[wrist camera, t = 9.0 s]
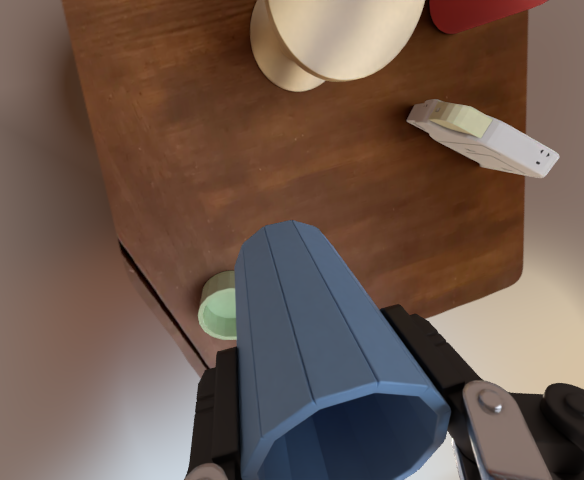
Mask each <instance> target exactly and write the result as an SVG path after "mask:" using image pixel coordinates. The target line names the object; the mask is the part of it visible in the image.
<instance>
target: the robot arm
mask: <svg viewBox="0 0 584 480" xmlns="http://www.w3.org/2000/svg"><path fill="white" fill-rule="evenodd" d="M380 311H381V313H382V314H383V316H384V317H385V318H386V320H387V321H388V322H389V324H390V325H391V327H392V328H393V329H394V331H395V332H396V333H397V335H398V336H399V338H400V339H401V340H402V342H403V343H404V344H405V346H406V347H407V349H408V350H409V351H410V353H411V354H412V355H413V357H414V358H415V359H416V361H417V362H418V364H419V365H420V366H421V368H422V369H423V370H424V372H425V373H426V375H427V376H428V377H429V379H430V380H431V381H432V383H433V384H434V386H435V387H436V388H437V390H438V391H439V392H440V394H441V395H442V396H443V398H444V399H445V401H446V402H447V403H448V405H449V406H450V408H451V415H450V419H449V424H448V429H447V431H448V432H449V434H450V435H451V437H452V447H453V451H454V456H455V460H456V464H457V469H458V473H459V477H460V480H584V389H581V388H579V387H576V386H573V385H569V384H564V383H556V384H551V385H549V386H548V387H547V389H546V390H545V392H544V394H522V393H510V392H507V391H506V390H504V389H503V388H501V387H500V386H498V385H496V384H493V383H491V382H488V381H484V380H482V379H481V378H480V377H479V376H478V375H477V374H476V373H475V372H474V371H473V369H472V368H471V367H470V366H469V365H468V364H467V363H466V362H465V361H464V360H463V359H462V357H461V356H460V355H459V354H458V353H457V352H456V351H455V350H454V349H453V348H452V347H451V345H450V344H449V343H447V342H446V340H445V339H444V338H443V337H442V336H441V335H440V334H439V333H438V331H437V330H436V329H435V328H434V327H433V326H432V325H431V324H430V322H429V321H427V320H425V319H424V318H422V317H420V316H419V315H417V314H412V315H409V314H408V313H407V312H406V311H405V310H404V308H403V307H402V306H401V305H399V304H397V305H393V306H389V307H385V308H382V309H380ZM195 412H196V414H195V418H194V427H193V436H192V445H191V454H190V462H189V468H188V471H187V474H186V477H185V479H184V480H242V478H241V462H240V459H241V452H240V420H239V389H238V358H237V347H233V348H229V349H225V350H222V351H218V352H217V355H216V367H215V368H211V369H208V370H205V372H204V374H203V376H202V378H201V380H200V382H199V384H198V392H197V402H196V409H195Z"/></svg>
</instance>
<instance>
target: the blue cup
mask: <svg viewBox="0 0 584 480" xmlns="http://www.w3.org/2000/svg"><path fill="white" fill-rule="evenodd" d="M235 301H236V333H237V358H238V389H239V420H240V452H241V459H240V462H241V478H242V480H404V479H405V478H407V477H409V476H410V475H412V474H414V473H415V472H416V471H417V470H419V469H420V468H421V467H422V466H423V465H424V463H425V462H426V461H427V460H428V459H429V458H430V457H431V456H432V454H433V453H434V452H435V451H436V450H437V449H438V448H439V447H440V446H441V444H442V443H443V442H444V440H445V439H446V434H447V429H448V424H449V419H450V415H451V408H450V406H449V405H448V403H447V402H446V401H445V399H444V398H443V396H442V395H441V394H440V392H439V391H438V390H437V388H436V387H435V386H434V384H433V383H432V381H431V380H430V379H429V377H428V376H427V375H426V373H425V372H424V370H423V369H422V368H421V366H420V365H419V364H418V362H417V361H416V359H415V358H414V357H413V355H412V354H411V353H410V351H409V350H408V349H407V347H406V346H405V344H404V343H403V342H402V340H401V339H400V338H399V336H398V335H397V333H396V332H395V331H394V329H393V328H392V327H391V325H390V324H389V322H388V321H387V320H386V318H385V317H384V316H383V314H382V313H381V311H380V310H379V309H378V307H377V306H376V305H375V303H374V302H373V301H372V299H371V298H370V296H369V295H368V294H367V292H366V291H365V290H364V288H363V287H362V285H361V284H360V283H359V281H358V280H357V279H356V277H355V276H354V274H353V273H352V272H351V270H350V269H349V268H348V266H347V265H346V263H345V262H344V261H343V259H342V258H341V257H340V255H339V254H338V253H337V251H336V250H335V248H334V247H333V246H332V244H331V243H330V242H329V241H328V240H327V238H326V237H325V236H324V235H323V234H322V233H321V231H320V230H319V229H318V228H316V227H314V226H311V225H307V224H304V223H301V222H297V221H294V220H292V221H291V220H289V221H284V222H280V223H275V224H271V225H266V226H265V227H262V228H261V229H260V230H258V231H257V232H256V233H255V234H254V235H253V236H251V237H250V238H249V239H248V240H247V241H245V242H244V243H243V245H242V247H241V249H240V252H239V255H238V258H237V261H236V264H235Z"/></svg>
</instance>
